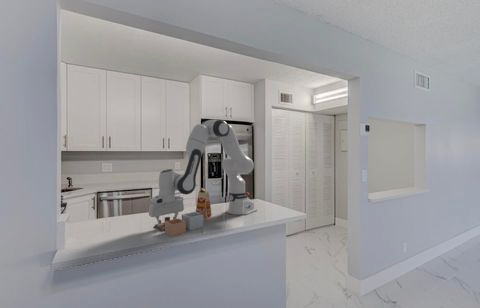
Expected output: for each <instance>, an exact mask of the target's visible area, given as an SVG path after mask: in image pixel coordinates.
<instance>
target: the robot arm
mask: <svg viewBox="0 0 480 308" xmlns="http://www.w3.org/2000/svg"><path fill="white" fill-rule="evenodd" d="M209 138H219V139H220V143H221V147H222V148H223V152H224V153H225V155H227V156H228V157H225V158H223V159H222V162H221V168H222V169H223V170H224V172H225V174H226V175H227V178H228V183H229V193H228V199H229V200H228V208H227V213H228V214H231V215H235V216H236V215H238V216H239V215H241V216H242V215H245V216H246V215H249V214H253V213H254V212H257V211H258V209H257V208H256V207H255V204H254V201H252V200H251V199H250V198H249V197H248V196H250V192H246V181H245V180H244V179H243V177H242V176H241V174H248V173H252V172H253V170H254V167H255V164H254V161H253V159H252V158H250V157H249V156H247V155H246V154H245V152H243V150H242V148H241V146H240V143H239V140H238V137H237V133H236V132H235V130H234V127H233V126H232V125H231V124H228V123H227V122H226V121H225V120H223V119H207V120H204V121H203V122H202V123H199V124H198V123H197V124H195V126H194V127H193V128H192V130H191V131H190V134H189V136H188V139H187V142H186V145H185V151H186V154H187V155H188V161H187V165H186V167H185V170H184V173H180V172H178V171H176V170H174V169H172V168H171V169H168V168H167V169H165V170H162V171H161V172H160V173H159V174H158V188H159V191H158V194H157V195H156V196H153V197H151V198H150V204H149V206H148V216H149V217H151V218H155V219H156V224H160V223H162V219H160V217H161V216H165V215H170V214H174V216H172V220H173V219H178V218H177V217H178V216H179V213H180V212H183V211H184V209H185V206H184V205H185V204H184V197H183V196H181V195H176V191H178V192H179V193H180V194H182V195H189V194H192V193H193V192H194V191H195V189H196V187H197V185H196V184H197V183H196V181H197V180H196V178H197V173H198V169H199V167H200V164H201V160H202V156H203V154H204V150H205V148H206V145H207V142H208V139H209Z"/></svg>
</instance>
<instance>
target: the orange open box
mask: <svg viewBox="0 0 480 308" xmlns="http://www.w3.org/2000/svg"><path fill="white" fill-rule="evenodd" d="M164 222H165V231H164V234H167V235H169V236H170V237H174V236H175V237H176V236H178V235H182V234H185V233H187V229H186V222H185V221H183V220H182V218H177V219H173V218H172V219H170V220H169V221H165V220H164Z"/></svg>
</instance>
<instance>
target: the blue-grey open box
mask: <svg viewBox="0 0 480 308" xmlns="http://www.w3.org/2000/svg"><path fill="white" fill-rule="evenodd" d="M181 220H183V221H185V222H186V230H188V231H193V230H196V229H201V228H204V220H203V214H200V213H197V212H196V211H192V212H189V213H188V212H187V213H186V212H185V213H182V214H181ZM200 227H201V228H200Z"/></svg>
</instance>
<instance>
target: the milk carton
mask: <svg viewBox="0 0 480 308" xmlns="http://www.w3.org/2000/svg"><path fill="white" fill-rule="evenodd" d="M197 195H198V196H197V198H196V199H197V200H196V207H195V208H196V209H195V212H197V213H200V214H203V221H209V220H210V219H211V218H212V216H213V215H212V214H213V213H212V207H211V199H210V193H209V192H208V190H206V189H205V188H204V187H201V189H200V190H199V191H198V194H197Z"/></svg>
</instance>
